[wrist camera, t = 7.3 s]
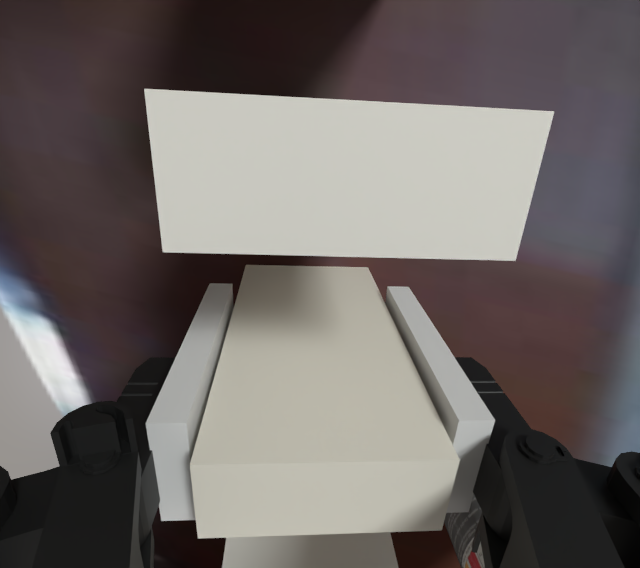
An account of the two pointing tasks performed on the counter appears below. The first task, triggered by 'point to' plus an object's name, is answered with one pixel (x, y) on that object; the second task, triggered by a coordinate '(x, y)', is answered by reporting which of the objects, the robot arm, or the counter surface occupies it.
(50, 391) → the counter surface
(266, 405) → the domino
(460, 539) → the pill bottle
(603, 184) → the counter surface
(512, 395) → the counter surface
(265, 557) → the domino
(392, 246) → the domino
